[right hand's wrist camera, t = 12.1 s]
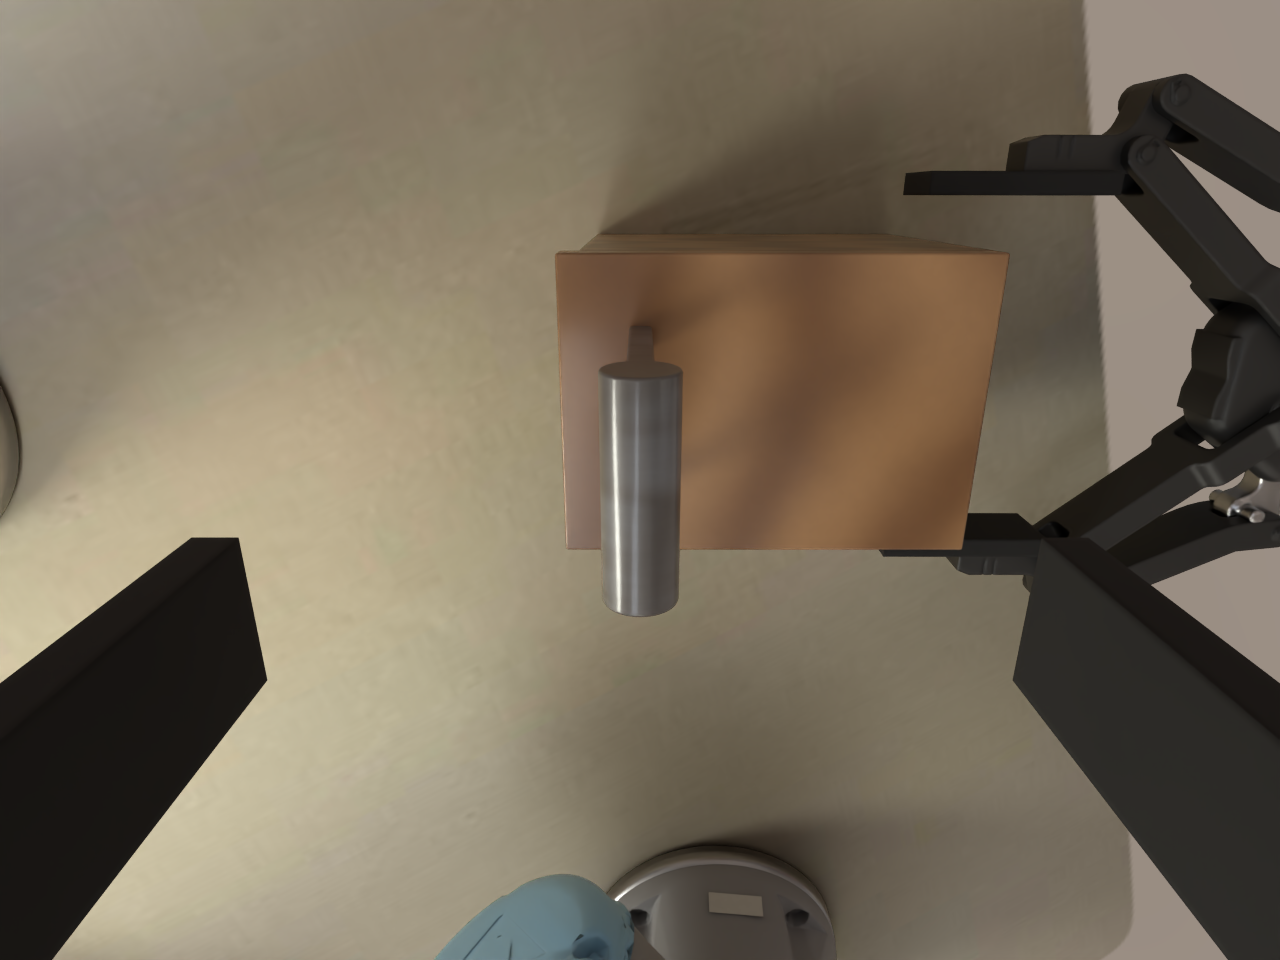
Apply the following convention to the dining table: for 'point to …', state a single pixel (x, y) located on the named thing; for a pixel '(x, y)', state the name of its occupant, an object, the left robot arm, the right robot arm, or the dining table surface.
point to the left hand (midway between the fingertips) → (892, 372)
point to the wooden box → (766, 243)
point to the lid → (768, 403)
